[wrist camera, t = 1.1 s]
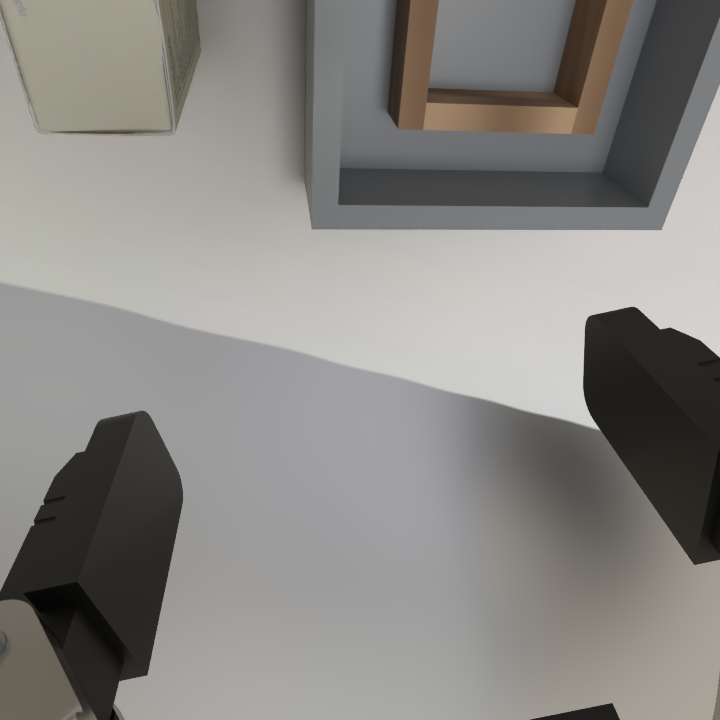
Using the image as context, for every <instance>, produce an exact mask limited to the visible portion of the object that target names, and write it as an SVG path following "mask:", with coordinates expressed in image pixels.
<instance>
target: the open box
mask: <svg viewBox="0 0 720 720" xmlns="http://www.w3.org/2000/svg"><path fill="white" fill-rule="evenodd" d="M575 1H576V0H439V4H438V13H437V21H436V29H435V37H434V45H433V53H432V62H431V70H430V78H429V86H428V88H441V89H468V90H495V91H522V92H548V93H553V92H554V88H555V84H556V80H557V75H558V71H559V67H560V63H561V59H562V55H563V51H564V47H565V43H566V38H567V34H568V30H569V26H570V22H571V18H572V14H573V10H574V6H575ZM396 5H397V0H306V58H305V187H306V193H307V200H308V207H309V213H310V220H311V226H312V229H452V230H661V229H662V227H663V224H664V222H665V219H666V217H667V214H668V212H669V209H670V207H671V204H672V202H673V199H674V197H675V194H676V192H677V189H678V187H679V184H680V182H681V179H682V177H683V174H684V172H685V169H686V167H687V164H688V162H689V159H690V157H691V154H692V152H693V149H694V147H695V144H696V142H697V139H698V137H699V134H700V132H701V129H702V127H703V124H704V122H705V119H706V117H707V114H708V112H709V109H710V107H711V104H712V102H713V99H714V97H715V94H716V92H717V89H718V87H719V84H720V0H633V3H632V7H631V10H630V14H629V17H628V20H627V24H626V27H625V31H624V34H623V37H622V41H621V44H620V48H619V51H618V54H617V58H616V61H615V65H614V68H613V71H612V75H611V78H610V82H609V85H608V88H607V92H606V95H605V99H604V102H603V105H602V109H601V112H600V116H599V119H598V122H597V126H596V129H595V133H594V135H592V134H555V133H518V132H480V131H443V130H405V129H398V128H397V127H396V125H395V124H394V122H393V120H392V119H391V117H390V116H389V114H388V112H387V111H388V99H389V87H390V76H391V64H392V52H393V40H394V29H395V17H396Z"/></svg>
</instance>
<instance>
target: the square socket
mask: <svg viewBox="0 0 720 720" xmlns="http://www.w3.org/2000/svg"><path fill="white" fill-rule="evenodd" d="M632 3H633V0H576V1H575V6H574V10H573V14H572V18H571V22H570V26H569V30H568V34H567V38H566V43H565V47H564V51H563V55H562V59H561V63H560V67H559V71H558V75H557V80H556V84H555V88H554V92H553V93H548V92H522V91H495V90H468V89H441V88H428V86H429V78H430V70H431V62H432V53H433V45H434V37H435V29H436V21H437V13H438V4H439V0H397V5H396V17H395V29H394V40H393V52H392V64H391V76H390V87H389V99H388V111H387V112H388V114H389V116H390V117H391V119H392V120H393V122H394V124H395V125H396V127H397V128H398V129H405V130H443V131H480V132H518V133H555V134H592V135H594V133H595V129H596V126H597V122H598V119H599V116H600V112H601V109H602V105H603V102H604V99H605V95H606V92H607V88H608V85H609V82H610V78H611V75H612V71H613V68H614V65H615V61H616V58H617V54H618V51H619V48H620V44H621V41H622V37H623V34H624V31H625V27H626V24H627V20H628V17H629V14H630V10H631V7H632Z"/></svg>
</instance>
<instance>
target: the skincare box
mask: <svg viewBox="0 0 720 720" xmlns="http://www.w3.org/2000/svg"><path fill="white" fill-rule="evenodd" d="M0 18H1V21H2V24H3V27H4V30H5V34H6V37H7V41H8V44H9V47H10V50H11V53H12V56H13V59H14V63H15V66H16V69H17V73H18V76H19V79H20V82H21V85H22V88H23V91H24V94H25V98H26V100H27V104H28V107H29V110H30V113H31V116H32V119H33V121H34V125H35V128H36V130H37V131H38V132H39V133H42V134H69V135H118V136H169V135H172V134H174V132H175V131H176V128H177V125H178V122H179V119H180V116H181V112H182V109H183V106H184V102H185V99H186V96H187V93H188V90H189V87H190V84H191V80H192V77H193V74H194V71H195V68H196V64H197V61H198V58H199V55H200V51H201V50H200V39H199V27H198V16H197V5H196V0H0Z"/></svg>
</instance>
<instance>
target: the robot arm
mask: <svg viewBox="0 0 720 720" xmlns="http://www.w3.org/2000/svg"><path fill="white" fill-rule="evenodd" d="M583 390H584V397H585V401H586V404H587V407H588V410H589V412H590V415H591V416H592V418H593V420H594V421H595V423H596V424H597V426H598V427H599V429H600V430H601V431H602V433H603V434H604V436H605V437H606V439H607V440H608V441H609V443H610V444H611V446H612V447H613V449H614V450H615V451H616V453H617V454H618V456H619V457H620V459H621V460H622V461H623V463H624V464H625V466H626V467H627V469H628V470H629V471H630V473H631V475H632V476H633V477H634V479H635V480H636V482H637V483H638V485H639V486H640V487H641V489H642V490H643V492H644V493H645V494H646V496H647V498H648V499H649V500H650V502H651V503H652V505H653V506H654V507H655V509H656V510H657V512H658V513H659V515H660V516H661V518H662V519H663V521H664V522H665V523H666V525H667V526H668V528H669V529H670V531H671V532H672V533H673V535H674V536H675V538H676V539H677V541H678V542H679V544H680V545H681V546H682V548H683V549H684V551H685V552H686V554H687V555H688V557H689V558H690V559H691V561H692V562H693V564H694V565H696V564H701V563H705V562H711V561H716V560H720V357H718V356H717V355H716V354H715V353H714V352H713V351H711V350H710V349H709V348H708V347H707V346H706V345H705V344H703V343H702V342H701V341H700V340H698V339H695V338H693V337H691V336H689V335H686V334H684V333H682V332H679V331H677V330H675V329H673V328H666V329H661V330H660V329H659V328H658V327H657V326H656V325H655V324H654V323H653V322H652V321H650V320H649V319H648V318H647V317H646V316H645V315H644V314H643V313H642V312H641V311H640V310H639V309H637V308H635V307H629V308H624V309H619V310H615V311H610V312H605V313H601V314H596V315H592V316H589V317H588V319H587V321H586V325H585V346H584V376H583ZM182 503H183V489H182V483H181V479H180V475H179V472H178V470H177V468H176V466H175V464H174V462H173V460H172V458H171V456H170V454H169V452H168V450H167V448H166V446H165V444H164V442H163V440H162V438H161V436H160V434H159V432H158V430H157V428H156V426H155V424H154V422H153V421H152V419H151V417H150V416H149V414H148V413H147V412H145V411H138V412H134V413H129V414H124V415H120V416H115V417H110V418H105V419H102V420H100V421H99V422H98V423H97V425H96V427H95V429H94V432H93V434H92V436H91V439H90V441H89V443H88V445H87V448H86V450H85V451H84V452H80V453H76V454H75V455H74V456H73V457H72V458H71V459H70V461H69V462H68V463H67V464H66V465H65V466H64V467H63V468H62V469H61V470H60V472H59V473H58V474H57V475H56V476H55V477H54V479H53V482H52V484H51V486H50V488H49V490H48V492H47V494H46V496H45V498H44V505H42V506H41V507H40V509H39V511H38V513H37V515H36V517H35V519H34V523H35V525H34V526H31V528H30V530H29V532H28V534H27V537H26V538H25V541H24V543H23V545H22V547H21V549H20V551H19V553H18V555H17V558H16V559H15V562H14V564H13V566H12V568H11V570H10V572H9V574H8V576H7V578H6V581H5V583H4V585H3V587H2V589H1V591H0V720H125V719H124V717H123V716H122V714H121V712H120V711H119V709H118V708H117V706H116V705H115V704H114V700H115V696H116V691H117V688H118V683H119V681H122V680H126V679H131V678H136V677H141V676H146V675H147V674H148V670H149V665H150V660H151V655H152V650H153V645H154V640H155V635H156V631H157V625H158V621H159V615H160V611H161V606H162V601H163V596H164V592H165V587H166V582H167V577H168V572H169V567H170V562H171V558H172V552H173V548H174V543H175V538H176V533H177V528H178V523H179V518H180V513H181V509H182ZM531 720H620V719H619V717H618V715H617V712H616V710H615V708H614V706H613V704H612V703H611V704H606V705H600V706H595V707H591V708H586V709H581V710H576V711H571V712H566V713H561V714H556V715H551V716H546V717H541V718H536V719H531ZM713 720H720V675H719V684H718V691H717V698H716V704H715V710H714V715H713Z"/></svg>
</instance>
